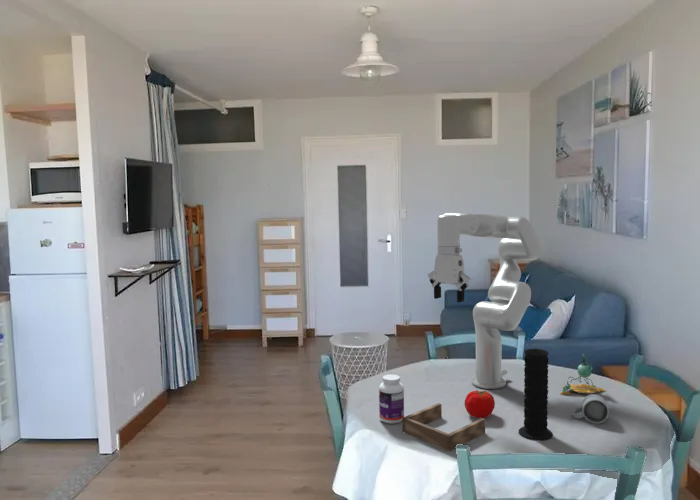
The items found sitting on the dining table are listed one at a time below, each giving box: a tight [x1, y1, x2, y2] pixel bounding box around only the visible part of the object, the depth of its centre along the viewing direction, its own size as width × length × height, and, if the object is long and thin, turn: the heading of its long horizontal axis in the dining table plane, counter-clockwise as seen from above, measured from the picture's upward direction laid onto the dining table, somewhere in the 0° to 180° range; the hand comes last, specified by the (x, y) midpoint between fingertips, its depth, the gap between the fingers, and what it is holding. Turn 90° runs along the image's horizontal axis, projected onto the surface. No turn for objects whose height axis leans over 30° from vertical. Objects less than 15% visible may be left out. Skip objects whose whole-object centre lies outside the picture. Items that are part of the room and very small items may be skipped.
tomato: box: [464, 389, 496, 419], centre depth 189 cm, size 9×10×8 cm
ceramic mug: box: [571, 393, 610, 425], centre depth 185 cm, size 11×8×8 cm
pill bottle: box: [378, 374, 405, 425], centre depth 187 cm, size 8×8×14 cm
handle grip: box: [517, 348, 554, 442], centre depth 174 cm, size 10×26×10 cm
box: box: [401, 402, 486, 452], centre depth 177 cm, size 17×18×4 cm
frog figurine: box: [560, 353, 607, 396], centre depth 209 cm, size 10×18×15 cm, turn 93°
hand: (448, 299), depth 199 cm, fingers open, 9 cm apart
